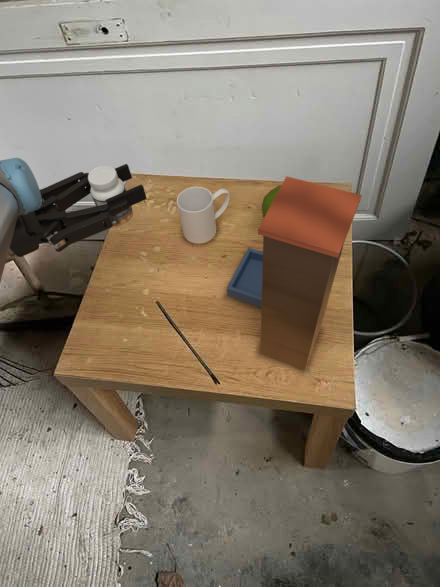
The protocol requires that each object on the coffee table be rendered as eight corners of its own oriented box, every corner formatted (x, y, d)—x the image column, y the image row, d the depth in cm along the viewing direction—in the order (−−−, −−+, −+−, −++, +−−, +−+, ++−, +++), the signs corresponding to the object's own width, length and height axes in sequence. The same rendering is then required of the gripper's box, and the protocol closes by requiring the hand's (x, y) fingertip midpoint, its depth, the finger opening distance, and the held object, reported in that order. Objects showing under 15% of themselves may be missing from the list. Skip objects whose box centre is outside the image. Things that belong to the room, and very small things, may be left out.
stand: (306, 374, 78) (339, 252, 48) (256, 354, 80) (257, 228, 50) (322, 330, 82) (361, 194, 52) (275, 313, 85) (286, 176, 55)
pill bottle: (128, 230, 74) (113, 188, 66) (98, 228, 75) (79, 185, 66) (137, 207, 77) (123, 164, 69) (108, 205, 78) (91, 162, 70)
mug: (191, 249, 96) (185, 217, 87) (178, 227, 100) (171, 194, 91) (238, 229, 98) (236, 196, 90) (223, 208, 102) (220, 174, 94)
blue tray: (279, 314, 85) (279, 306, 83) (227, 296, 88) (226, 288, 86) (297, 271, 91) (299, 263, 88) (248, 256, 94) (248, 247, 91)
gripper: (3, 218, 75) (121, 168, 80) (31, 291, 65) (163, 229, 70) (-20, 186, 68) (110, 134, 74) (7, 261, 59) (155, 196, 64)
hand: (136, 181), depth 72 cm, fingers closed on pill bottle, 6 cm apart
